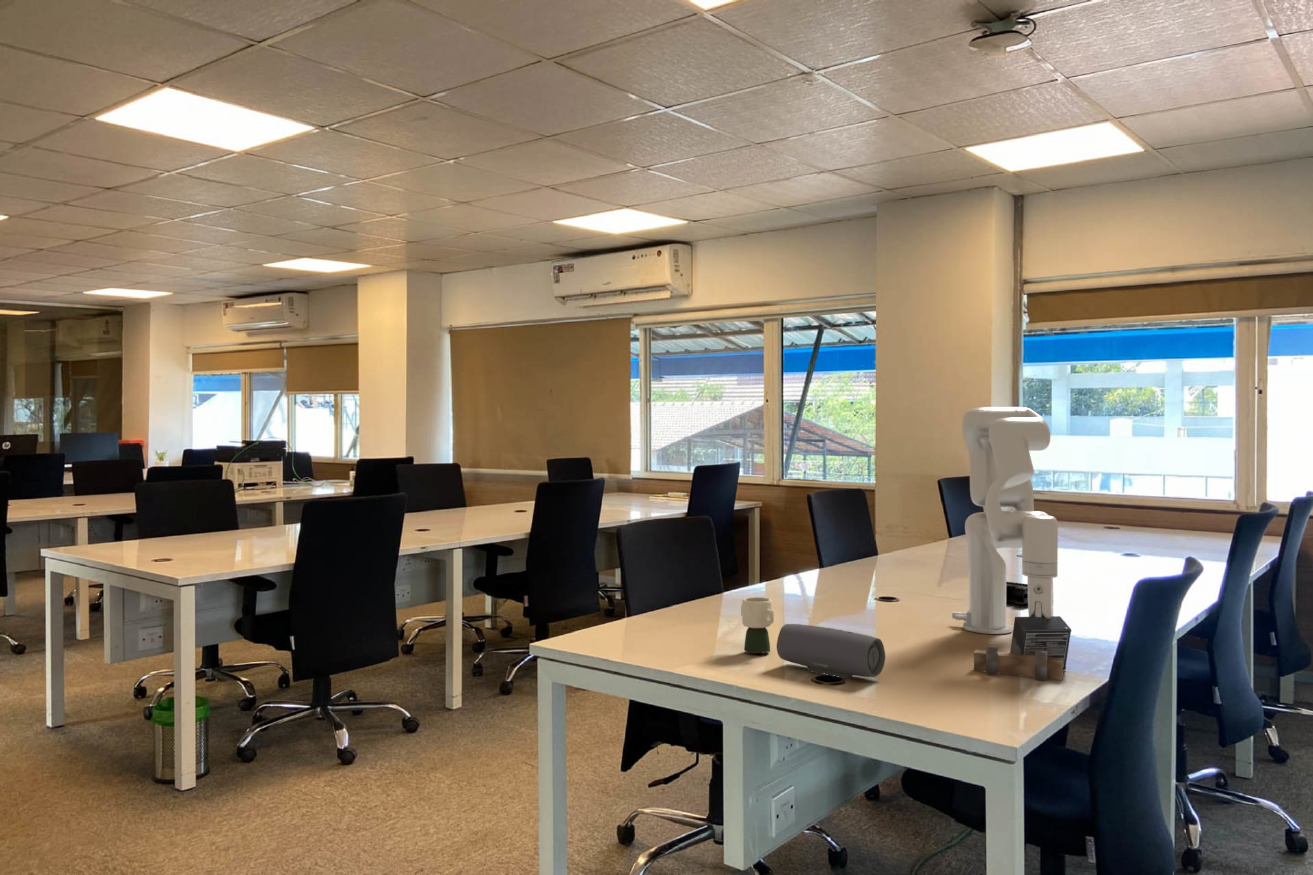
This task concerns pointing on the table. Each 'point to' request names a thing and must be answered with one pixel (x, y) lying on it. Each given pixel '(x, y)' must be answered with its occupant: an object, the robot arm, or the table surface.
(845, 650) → the bluetooth speaker
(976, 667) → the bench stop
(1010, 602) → the end cap
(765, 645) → the character mug
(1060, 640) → the small box
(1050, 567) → the robot arm
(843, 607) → the table surface
